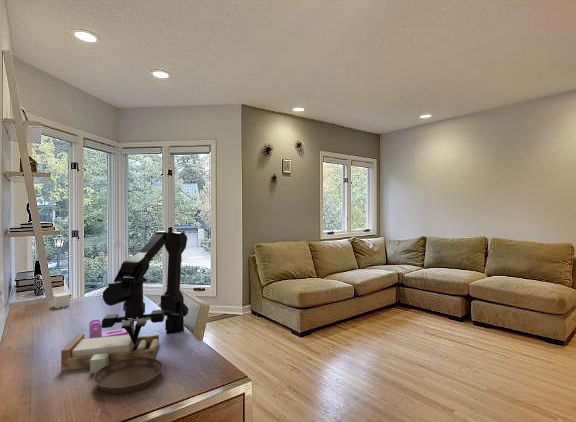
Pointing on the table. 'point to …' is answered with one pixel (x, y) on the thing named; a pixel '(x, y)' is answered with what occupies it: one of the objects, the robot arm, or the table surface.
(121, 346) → the slab
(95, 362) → the block
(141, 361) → the plant saucer
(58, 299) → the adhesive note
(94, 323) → the bracket
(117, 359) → the roller track
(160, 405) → the table surface
